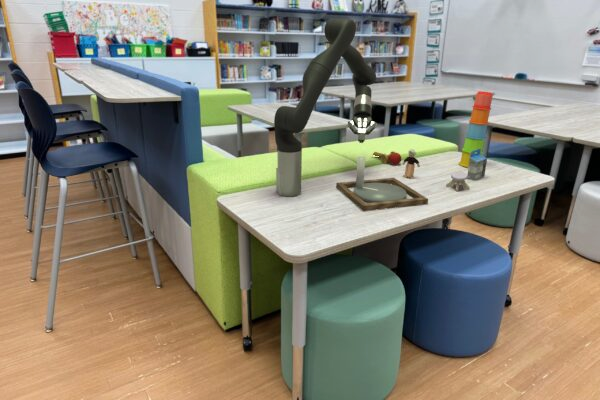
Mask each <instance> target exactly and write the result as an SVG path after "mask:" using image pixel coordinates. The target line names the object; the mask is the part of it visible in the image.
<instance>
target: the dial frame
mask: <svg viewBox="0 0 600 400" xmlns="http://www.w3.org/2000/svg"><path fill="white" fill-rule="evenodd" d="M364 183H387V184H392V185H396V186H399V187H401V188H403V189H404V190H405V191H406V193H407V194H406V195H407V196H409V197H411V198H406V199H403V200H393V201H384V202H374V203H369V202H365V201H363V200H362V199H360V198H359V197H358V196H357V195H356V194H354V191H352V190H351V189H354V188H355V187H356V180H352V181H342V182H341V181H340V182H336V184H335V185H336V186H335V187H336V189H337V190H338V191H340V192H341V193H342V194H343V195H344V196H345V197H346V198H348V199H349V200H350V201H351V202H352V203H353V204H354V205H355V206H357V208H359V209H360V210H361V211H362V212H368V211H376V209H378V210H386V209H385V208H387V209H395V207H396V208H404V207H412V206H419V205H420V206H422V205H428V204H429V198H428V197H426V196H425V195H423V194H421V193H419V192H418V191H417V190H414V189H413V188H411V187H410V186H408V185H406V184H405V183H403V182H402V181H400V180H399V179H397V178H395V177H386V178H385V177H384V178H374V179H373V178H372V179H364Z"/></svg>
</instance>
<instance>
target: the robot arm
mask: <svg viewBox="0 0 600 400" xmlns="http://www.w3.org/2000/svg"><path fill="white" fill-rule="evenodd" d="M323 31H324V37H325V39H326V40H327V42H328V44H330V46H329V47H327V48H326V49H324V50H323V51H322V52H320V53H319V54H318V55H316V56H315V57H314V58H312V60H311V61H310V62H309V64H308V66H307V68H306V69H305V70H304V72H303V76H302V96H301V99H300V100H299V102H298V103H297V105H296V106H289V105H288V106H287V105H282V106H279V107H278V108H277V109H276V111H275V113H274V119H273V120H274V123H273V124H274V141H275V144H276V148H277V167H276V168H275V170H276V171H275V180H276V181H275V185H276V188H275V189H276V193H277V194H278V195H279V196H280V197H282V196H283V197H295V196H296V197H297V196H299V195H301V194H302V171H303V170H302V169H303V167H302V164H303V162H302V160H303V159H302V157H303V156H302V155H303V154H302V153H303V148H302V147H303V145H302V141H300V140H299V139H298V138H296V136H295V135H294V134H300V133H301V132H302V131H303V130H304V129H305V128H306V126H307V125H308V122H309V120H310V117H311V116H312V112H313V111H314V108H315V106H316V103H317V102H318V100H319V98H320V96H321V94H322V92H323V90H324V88H325V87H326V85H327V83H328V82H329V80H330V78H331V76H332V74H333V72H334V70H335V68H336V66H337V65H338V64H339V61H340V60H341V58H342V59H343V60H344V62H345V63H346V65H347V66H348V68H349V70H350V73H352V77H351V78H352V79H351V80H352V83H353V86H354V92H355V96H354V97H355V98H354V103H353V117H352V120H348V121H347V127H348V128H349V130H350V131H352V133H353V134H354V135H357V141H358V142H359V144H364V142H365V139H366V136H369V135H370V134H371V133H372V132H373V131H374V130H375V129H376V128H377V125H378V123H377V122H376V121H373V118H372V107H373V106H372V105H373V103H372V89H371V87H370V86H371V85H374V84H375V83H376V81H377V73H376V71H375V70H374V69H373V68H372V67H371V66H370V65H369V64H368V63H366V61H365V59H364V57H363V56H362V54H361V53H360V51H359V50H358V49H357V48H355V46H353V45H351V44H352V42H353V40H354V38H355V36H356V33H357V32H356V31H357V24H356V22H355V21H354V20H353V19H350V18H339V17H334V18H333V17H332V18H329V19H328V20H326V23H325V25H324V29H323Z"/></svg>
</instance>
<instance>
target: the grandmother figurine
mask: <svg viewBox="0 0 600 400" xmlns="http://www.w3.org/2000/svg"><path fill="white" fill-rule="evenodd" d="M416 155H417V152H416V150H415V149H414V148H412V149H409V150H408V156H406V157H405V158H404V160H403V161H402V163H401V164H402V165H403V166H404V165H405V164H406V165H405V171H404V175H402V177H403V178H408V179H414V173H415V165H417V168H420V166H421V165H420V161H419V160H418V159H417V158H416V157H415V156H416Z"/></svg>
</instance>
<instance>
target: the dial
mask: <svg viewBox="0 0 600 400" xmlns="http://www.w3.org/2000/svg"><path fill="white" fill-rule="evenodd" d="M356 159H357V160H356V161H357V162H356V177H355V178H356V179H355V181H356V187H354V188H353V192H354V194H356V195H357V196H358V197H359V198H360V199H362V200H363V201H364V202H365V203H374V202H384V201H393V200H403V199H407V195H408V194H407V193H406V191H405V190H404V189H403V188H401V187H399V186H396V185H392V184H387V183H364V180H365V171H366V169H365V168H366V157H365V156H358V157H357V158H356Z"/></svg>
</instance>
